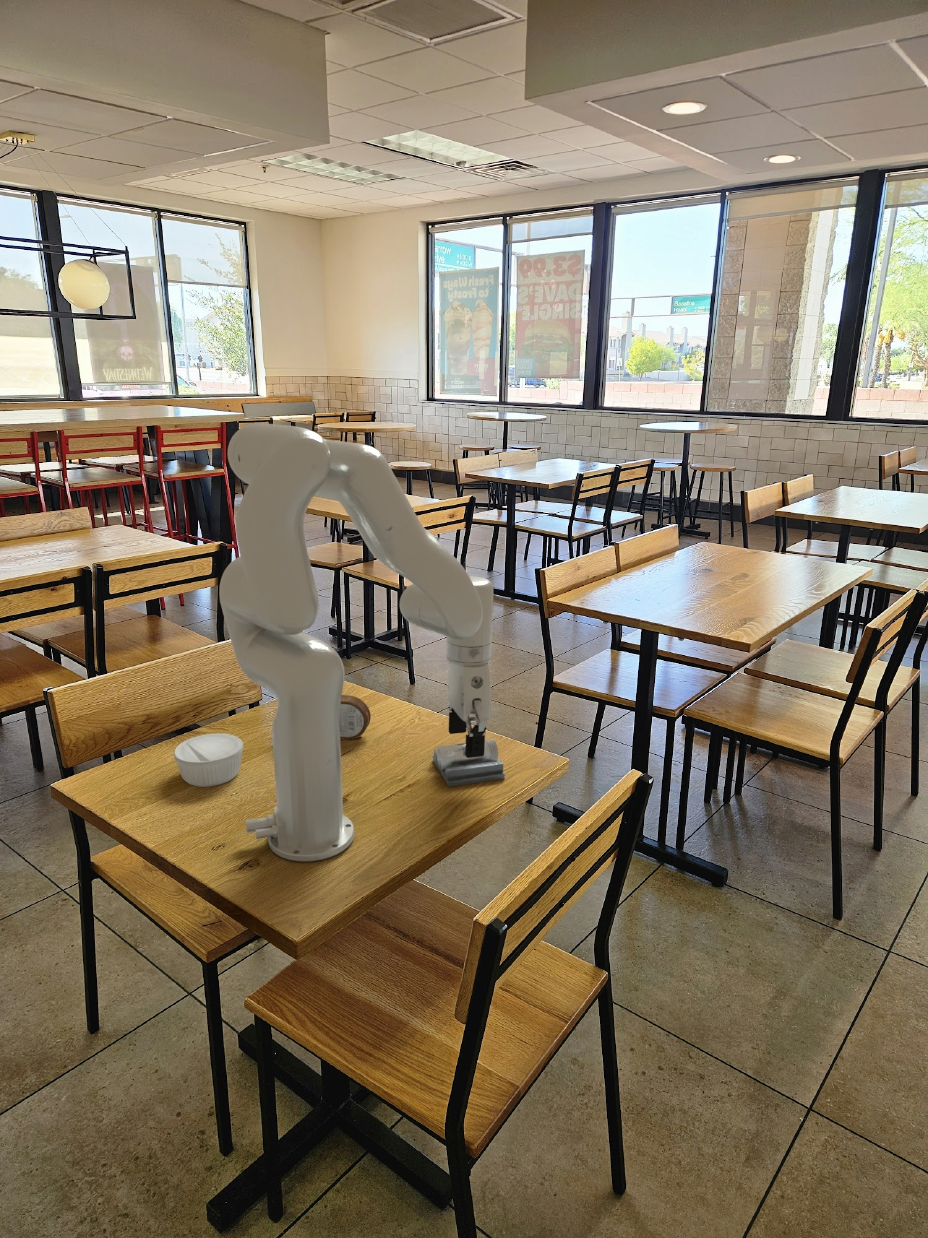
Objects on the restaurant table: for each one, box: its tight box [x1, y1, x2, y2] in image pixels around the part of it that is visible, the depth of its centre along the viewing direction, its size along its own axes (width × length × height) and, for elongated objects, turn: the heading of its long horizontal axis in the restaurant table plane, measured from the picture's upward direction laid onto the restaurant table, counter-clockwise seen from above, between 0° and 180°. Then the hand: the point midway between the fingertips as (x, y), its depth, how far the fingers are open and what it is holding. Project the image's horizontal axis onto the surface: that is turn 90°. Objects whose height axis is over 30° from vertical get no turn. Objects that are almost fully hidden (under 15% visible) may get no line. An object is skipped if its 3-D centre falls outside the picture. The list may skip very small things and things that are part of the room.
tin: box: [340, 694, 372, 740], centre depth 153 cm, size 15×3×8 cm, turn 84°
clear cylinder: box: [436, 738, 499, 770], centre depth 141 cm, size 10×4×4 cm, turn 107°
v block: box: [432, 748, 506, 788], centre depth 141 cm, size 10×10×2 cm
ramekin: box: [173, 732, 244, 788], centre depth 139 cm, size 11×11×5 cm
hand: (465, 744), depth 140 cm, fingers open, 9 cm apart
